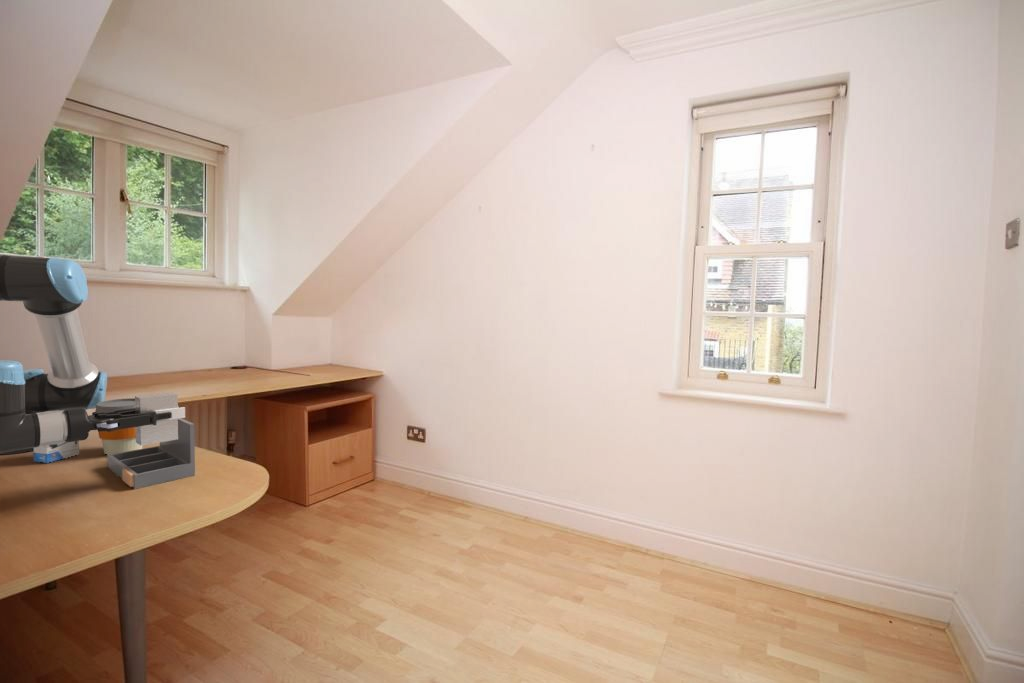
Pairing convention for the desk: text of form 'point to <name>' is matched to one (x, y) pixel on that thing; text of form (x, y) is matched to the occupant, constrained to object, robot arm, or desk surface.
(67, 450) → the ink box
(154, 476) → the rack
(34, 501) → the desk surface
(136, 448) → the reusable coffee cup
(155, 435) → the brushed metal block
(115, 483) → the desk surface
